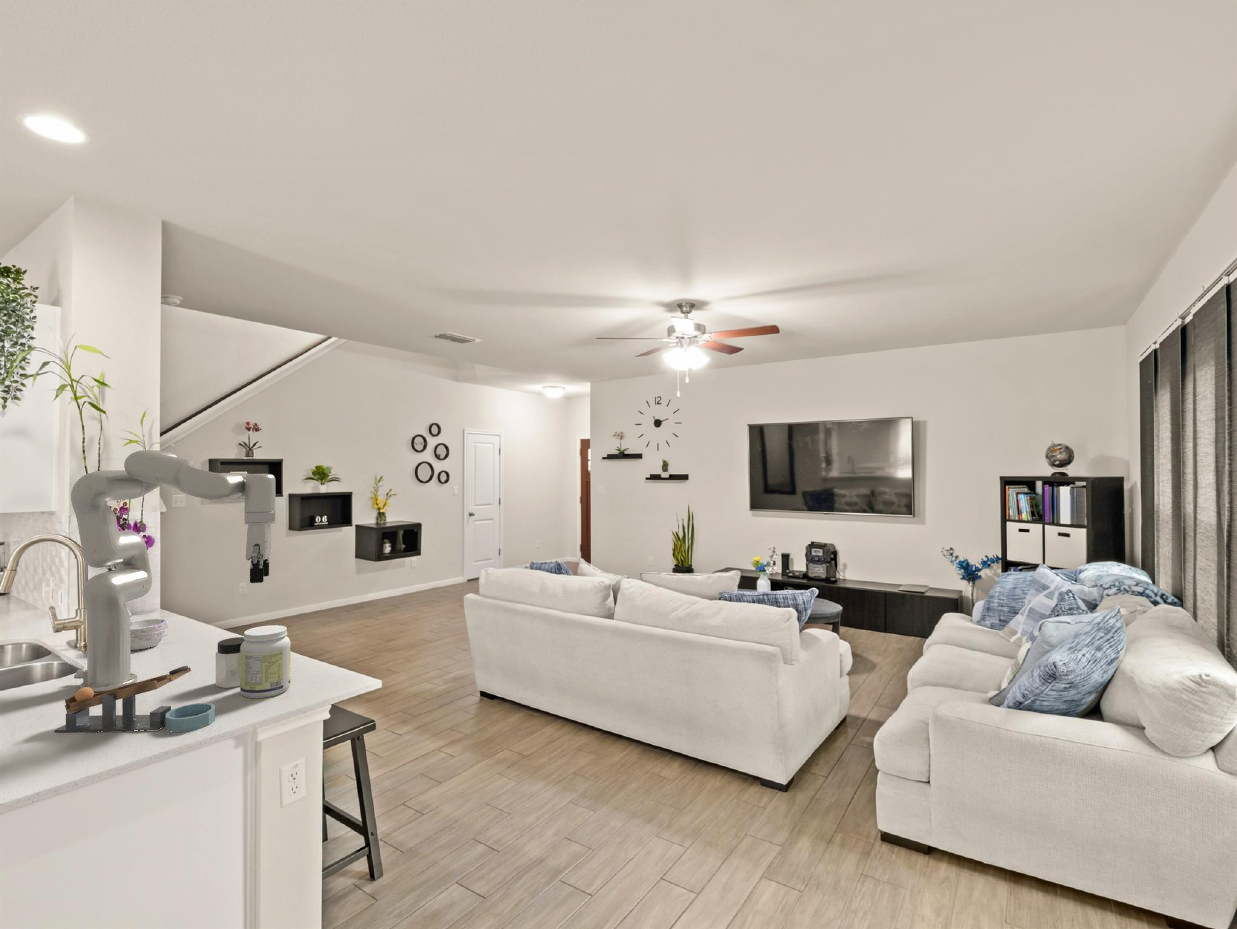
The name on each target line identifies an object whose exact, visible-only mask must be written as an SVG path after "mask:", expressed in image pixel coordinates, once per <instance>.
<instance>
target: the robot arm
mask: <svg viewBox="0 0 1237 929" xmlns="http://www.w3.org/2000/svg"><path fill="white" fill-rule="evenodd" d="M123 465H124V466H123V467H124V469H123V470H120V469H119V470H113V469H110V470H108V469H107V470H98V471H97V470H96V471H92V472H90V473H89V472H88V473H86V474H84V475H82V476H81V477H79V478H78V479H77V480H76V481H75V483H74V484H73V486H72V488H71V492H70V502H71V506H72V509H73V513H74V514H75V518H76V522H77V528H78V529H77V530H78V534H79V540H80V546H81V551H82V556H83V559H84V562H85V563H86V565H88V566H89V567H90V568H93V569H94V568H95V569H96V568H97V569H102V568H108V567H113V566H115V568H116V569H113V570H110V571H109V570H108V571H106V572H101V573H98V574H95V575H94V576H91V577H90V578H88V580H87V581H86V582H85V584H84V585H83V587H82V593H81V594H82V599H83V604H84V607H85V612H86V613H85V614H86V626H87V627H86V628H87V629H86V632H87V633H86V634H87V635H86V636H87V638H86V639H87V642H86V643H87V646H86V647H87V649H86V650H87V653H86V654H87V655H86V656H87V657H86V659H87V663H86V664H87V666H86V667H87V669H78V670H76V672H75V674H74V675H73V678H74V680H75V679H76V680H77V679H78V680H79V679H82V682H81V683H80V685H79V689H81V688H84V687H89V688H91V689H92V690H93V691H94V693H99V692H103V691H107V690H111V689H114V688H118V687H122V686H125V685H129V684H133V683H136V682H138V675H137V674H136V673H134V672H133V673H131V669H132V668H131V663H132V662H131V659H132V658H131V657H132V656H131V650H130V622H131V617H130V616H131V615H130V613H129V611H128V609H127V607H126V605H125V603H126V602H131V601H135V600H136V599H139V598H142V597H144V596H146V595H147V594H148V593H149V592H150V590H151V587H152V583H153V577H152V570H151V565H150V564H151V563H150V559H149V554H148V548H147V545H146V541H145V540H144V538H143V537H142V536H141V535H140V534H139V533H137V532H135V531H132V530H120V529H119V527H118V521H117V516H116V515H115V512H114V511H113V508H112V507H111V506H109V504H107V503H108V502H111V501H123V500H125V501H127V500H134V499H138V498H142V497H143V496H146V495H147V494H150V492H152V491H154V490H156V489H158V488H159V487H161V486H163V487H167V488H171V489H176V490H178V491H179V492H182V493H183V494H186V495H188V496H191V497H195V498H199V499H204V500H209V501H214V502H224V501H234V500H235V501H236V500H241V499H243V500H244V508H243V509H244V519H243V520H244V525H247V532H246V544H245V545H246V548H245V560H246V561H250V565H249V567H250V568H249V583H250V584H261V583H263V582H264V580H265V579H264V578H265V577H269V576H270V562H269V561H270V560H269V559H270V558H269V556H270V555H271V548H272V547H271V546H272V524H276V477H275V475H273V474H271V473H246V472H221V473H220V472H214V471H208V470H203V469H200V468H198V467H196V464H195V463H194V462H193V461H192V460H190V459H186V458H181V457H178V456H177V455H176V454H175V453H173V452H171V451H168V450H157V449H156V450H154V449H152V450H150V449H149V450H148V449H147V450H146V449H145V450H144V449H143V450H137V451H134V452H132V453H130V454H129V455H128V456H127V457H126V458H125V460H124V464H123Z"/></svg>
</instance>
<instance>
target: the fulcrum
mask: <svg viewBox="0 0 1237 929" xmlns="http://www.w3.org/2000/svg"><path fill="white" fill-rule="evenodd" d="M121 700H122V701H121V702H122V708H121V709H122V710H121V712H122V714H117V700H116V695H105V696H102V704H101V713H102V714H101V715H99V714H98V715H90V707H89V708H85V709H82V710H78V711H74V712H71V713H67V712H66V713H65V724H64V725H61V726H60V727H58V728H56V729H54V734H55V733H56V734H57V733H58V734H64V733H71V734H72V733H112V732H111V731H133V732H135V731H134V730H138V731H137V732H141V731H140V730H144V731H143V732H148V731H147V730H159V729H160V728H162V727H163V728H165V727H166V726H165V725H166V713H167V712H169V711H171V710H172V706H171V705H160V706H158V707H156V708H155V709H154V710H151V711H150V712H149V714H136V695H133V696H130V697H126V698H122V699H121ZM164 726H165V727H164ZM163 728H162V729H163ZM160 730H161V729H160ZM160 730H159V731H160ZM98 731H99V732H98ZM101 731H103V732H101ZM108 731H110V732H108Z"/></svg>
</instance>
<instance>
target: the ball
mask: <svg viewBox="0 0 1237 929" xmlns="http://www.w3.org/2000/svg"><path fill="white" fill-rule="evenodd" d="M94 694H95V692H94V691H93V690H92V689H91V688H89V687H84V688H81V689H80V688H79V689H78V690H77V691H76V692H75V694H74V695H75V699H76V701H81V700H85V699H88V698H92V697H93V695H94Z"/></svg>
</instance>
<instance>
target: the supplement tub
mask: <svg viewBox="0 0 1237 929" xmlns="http://www.w3.org/2000/svg"><path fill="white" fill-rule="evenodd" d="M287 629H288V628H287V627H286V626H285V625H277V624H275V625H273V624H272V625H270V624H269V625H262V626H256V627H252V628H249V629H247V630H245V631H244V632H243V636H242V637H243V639H244V640H245V641H244V642H243V643H242V644H241V647H240V686H239V687H240V688H239V693H240V694H241V696H243V697H245V698H249V699H266V698H270V697H271V698H272V697H275V696H277V695H281V694H282V693H284V692H286V691H288V689H290V687H291V682H292V681H291V645H292V643H291V640H290V638H289V637H288V636H287V635H288V631H287Z"/></svg>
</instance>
